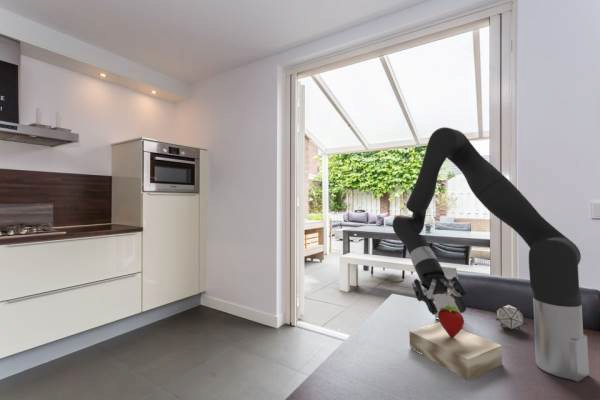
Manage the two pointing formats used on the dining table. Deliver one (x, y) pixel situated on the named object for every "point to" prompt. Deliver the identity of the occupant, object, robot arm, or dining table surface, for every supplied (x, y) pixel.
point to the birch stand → (457, 350)
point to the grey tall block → (442, 299)
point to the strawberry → (451, 320)
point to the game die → (510, 316)
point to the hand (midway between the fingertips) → (449, 312)
